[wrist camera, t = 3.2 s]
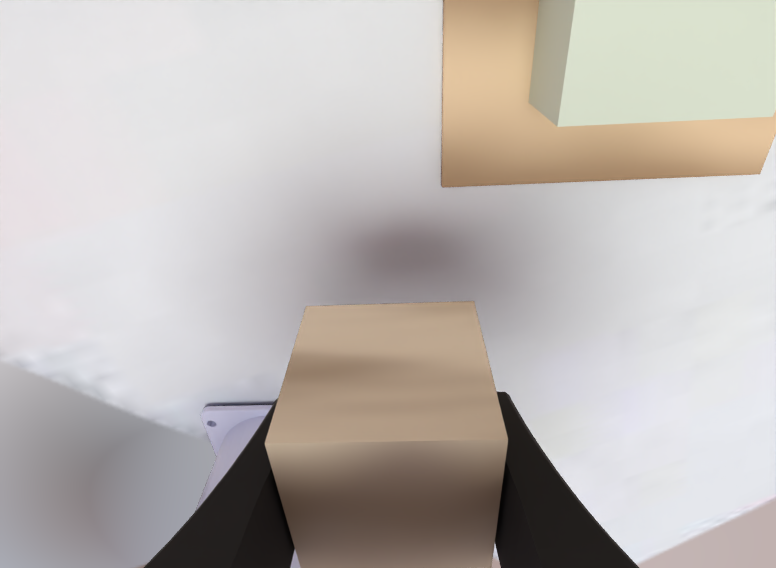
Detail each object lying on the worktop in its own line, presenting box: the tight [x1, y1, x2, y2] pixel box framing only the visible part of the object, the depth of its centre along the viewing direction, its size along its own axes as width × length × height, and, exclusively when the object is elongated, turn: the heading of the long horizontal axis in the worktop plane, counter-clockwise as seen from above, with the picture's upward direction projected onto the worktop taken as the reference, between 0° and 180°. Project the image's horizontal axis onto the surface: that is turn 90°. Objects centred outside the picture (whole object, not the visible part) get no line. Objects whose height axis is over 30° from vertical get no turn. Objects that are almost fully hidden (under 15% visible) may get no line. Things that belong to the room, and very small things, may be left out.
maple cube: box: [265, 301, 508, 568], centre depth 12 cm, size 4×4×4 cm
